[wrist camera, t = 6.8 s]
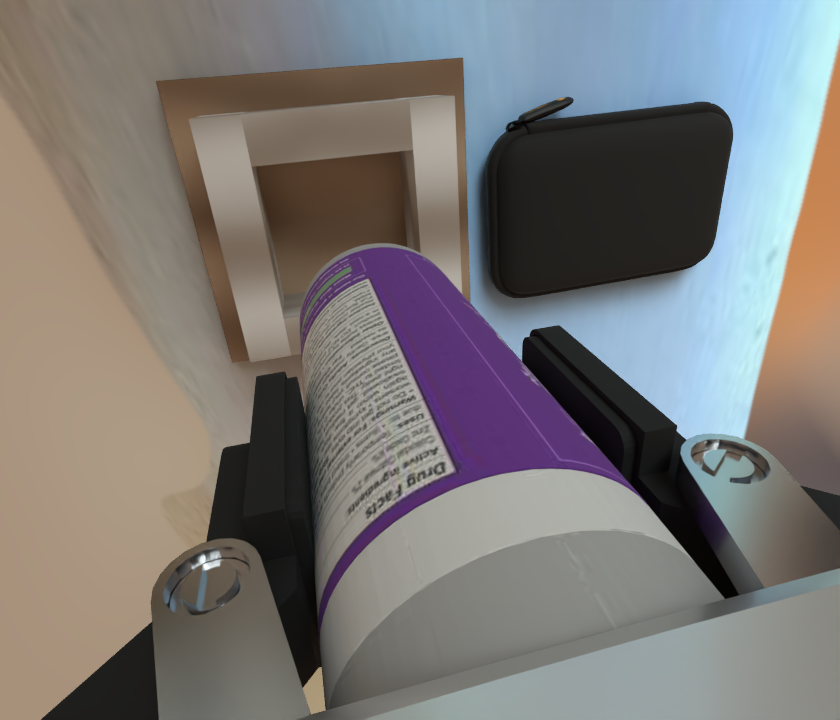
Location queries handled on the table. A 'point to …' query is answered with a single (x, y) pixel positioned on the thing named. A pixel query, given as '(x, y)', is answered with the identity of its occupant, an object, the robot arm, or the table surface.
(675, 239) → the carrying case or bag
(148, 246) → the table surface
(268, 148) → the mount
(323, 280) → the container
